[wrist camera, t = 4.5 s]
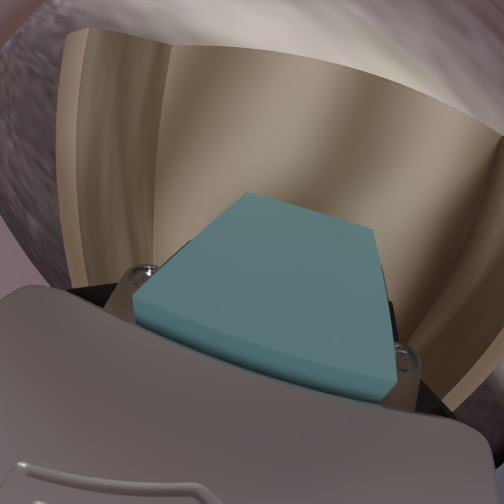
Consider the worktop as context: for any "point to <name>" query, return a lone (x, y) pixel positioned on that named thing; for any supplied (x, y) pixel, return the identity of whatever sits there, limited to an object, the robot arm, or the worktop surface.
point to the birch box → (286, 177)
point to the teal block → (280, 298)
